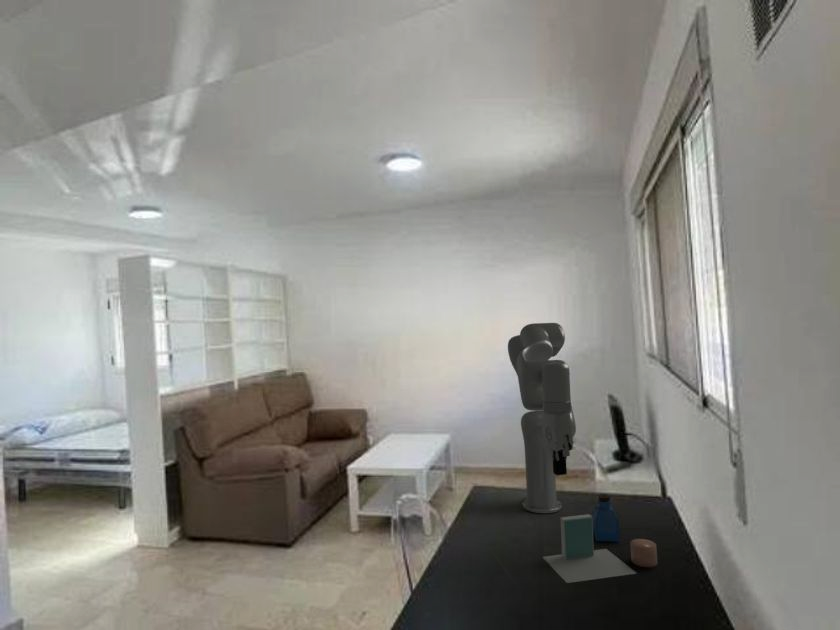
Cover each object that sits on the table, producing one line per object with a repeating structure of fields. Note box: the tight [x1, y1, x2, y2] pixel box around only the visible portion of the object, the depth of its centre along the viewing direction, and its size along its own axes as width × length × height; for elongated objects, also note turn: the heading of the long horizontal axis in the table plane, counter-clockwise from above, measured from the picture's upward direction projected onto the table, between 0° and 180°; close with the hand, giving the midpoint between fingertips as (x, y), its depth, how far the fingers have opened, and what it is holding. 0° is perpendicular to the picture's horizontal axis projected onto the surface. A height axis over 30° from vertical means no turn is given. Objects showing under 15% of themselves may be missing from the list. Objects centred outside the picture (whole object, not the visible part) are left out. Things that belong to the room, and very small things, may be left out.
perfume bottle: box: [591, 493, 620, 543], centre depth 147 cm, size 6×6×12 cm
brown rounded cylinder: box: [629, 538, 658, 568], centre depth 131 cm, size 6×6×5 cm
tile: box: [560, 513, 595, 559], centre depth 135 cm, size 2×8×10 cm, turn 100°
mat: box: [542, 548, 638, 584], centre depth 130 cm, size 14×18×1 cm
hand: (560, 474), depth 144 cm, fingers closed
